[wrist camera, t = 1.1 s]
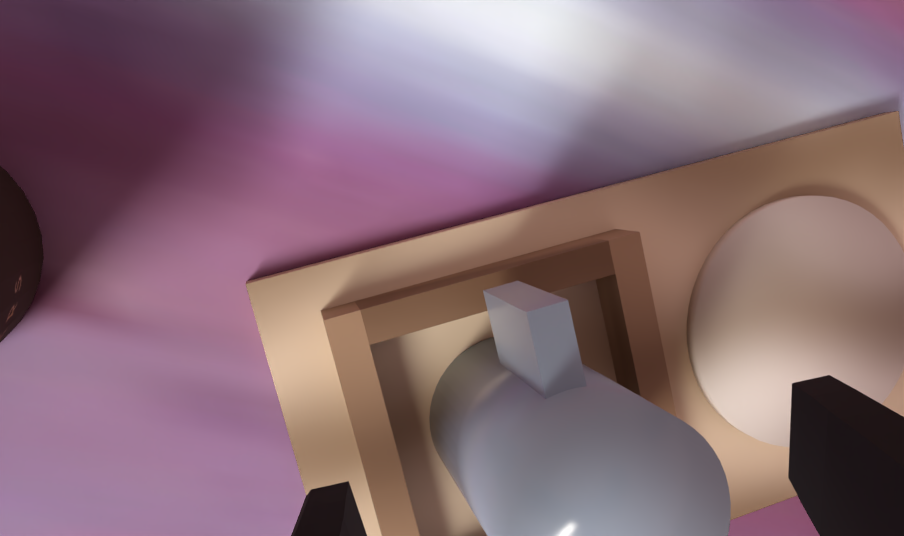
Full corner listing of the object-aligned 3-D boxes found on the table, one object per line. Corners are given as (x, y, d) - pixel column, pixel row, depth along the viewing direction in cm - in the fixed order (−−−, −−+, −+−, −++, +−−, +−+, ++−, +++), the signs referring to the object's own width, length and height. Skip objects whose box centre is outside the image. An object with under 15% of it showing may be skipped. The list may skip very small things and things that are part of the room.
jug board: (930, 435, 28) (984, 455, 26) (351, 648, 24) (359, 693, 22) (884, 112, 26) (938, 106, 24) (246, 281, 22) (243, 291, 20)
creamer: (598, 463, 24) (748, 591, 17) (450, 513, 23) (538, 674, 16) (552, 253, 23) (690, 286, 16) (395, 296, 22) (459, 355, 15)
